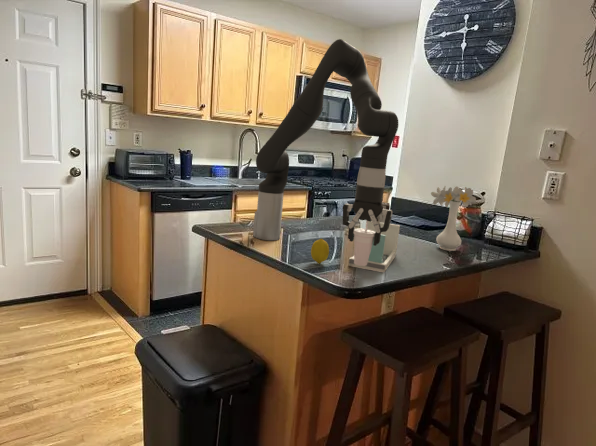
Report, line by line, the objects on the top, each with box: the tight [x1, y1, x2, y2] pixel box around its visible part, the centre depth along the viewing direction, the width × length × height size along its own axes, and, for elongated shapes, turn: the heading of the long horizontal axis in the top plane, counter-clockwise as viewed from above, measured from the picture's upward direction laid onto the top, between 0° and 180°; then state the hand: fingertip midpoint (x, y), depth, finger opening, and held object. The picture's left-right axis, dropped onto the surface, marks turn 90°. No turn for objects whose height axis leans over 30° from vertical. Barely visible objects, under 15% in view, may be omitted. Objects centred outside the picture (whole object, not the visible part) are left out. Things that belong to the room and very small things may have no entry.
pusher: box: [368, 234, 386, 263], centre depth 131 cm, size 8×1×10 cm, turn 69°
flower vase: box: [430, 185, 477, 252], centre depth 166 cm, size 13×18×25 cm
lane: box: [348, 221, 401, 273], centre depth 140 cm, size 11×23×11 cm, turn 159°
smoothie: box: [353, 220, 375, 266], centre depth 121 cm, size 6×6×14 cm
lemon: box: [310, 238, 330, 265], centre depth 131 cm, size 6×6×8 cm
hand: (363, 242), depth 121 cm, fingers closed on smoothie, 6 cm apart
